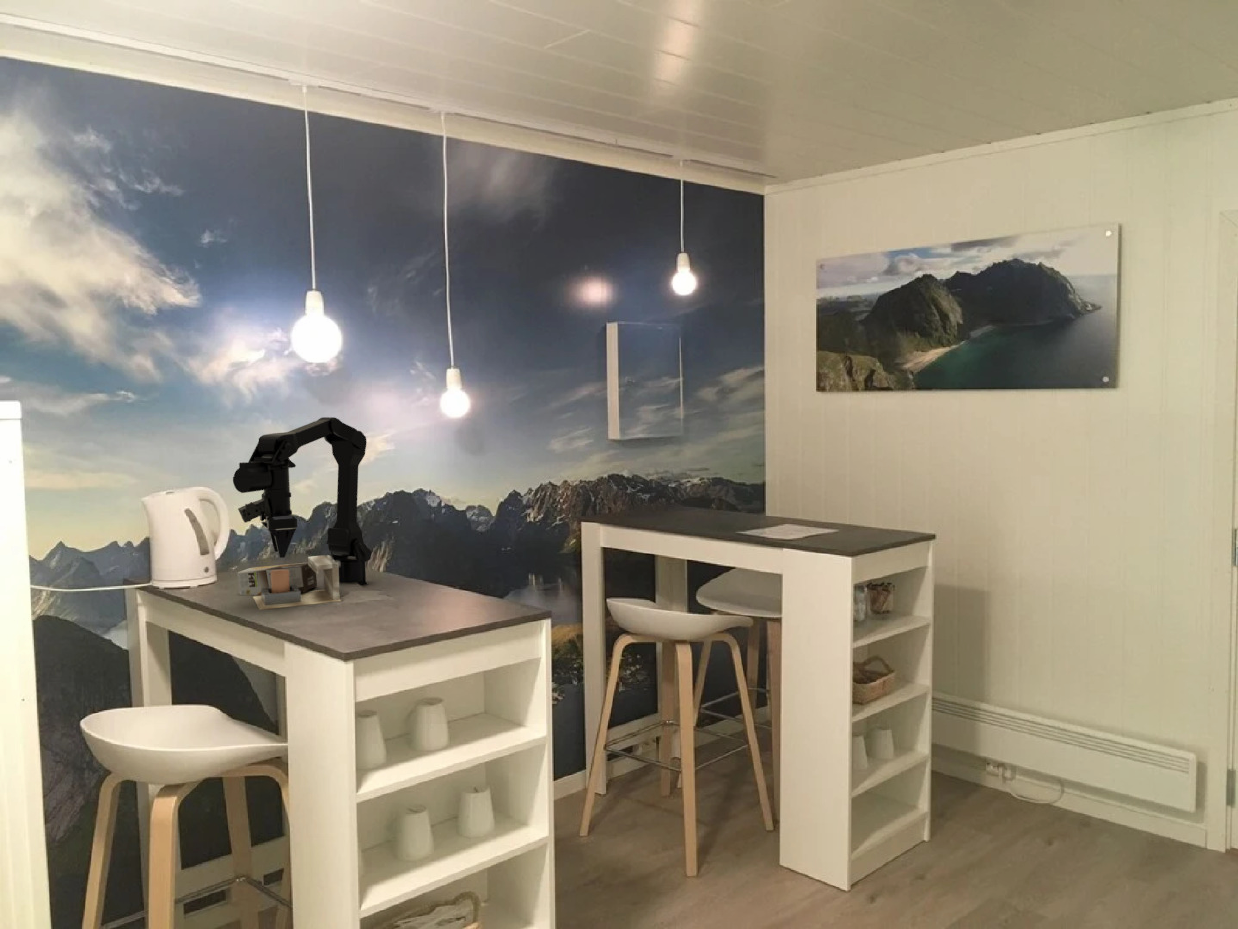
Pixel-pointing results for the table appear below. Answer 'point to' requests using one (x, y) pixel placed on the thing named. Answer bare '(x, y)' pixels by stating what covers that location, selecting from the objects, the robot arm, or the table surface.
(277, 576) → the peg
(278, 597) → the socket
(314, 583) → the coffee box
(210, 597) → the table surface
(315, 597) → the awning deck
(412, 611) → the table surface
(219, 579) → the table surface
